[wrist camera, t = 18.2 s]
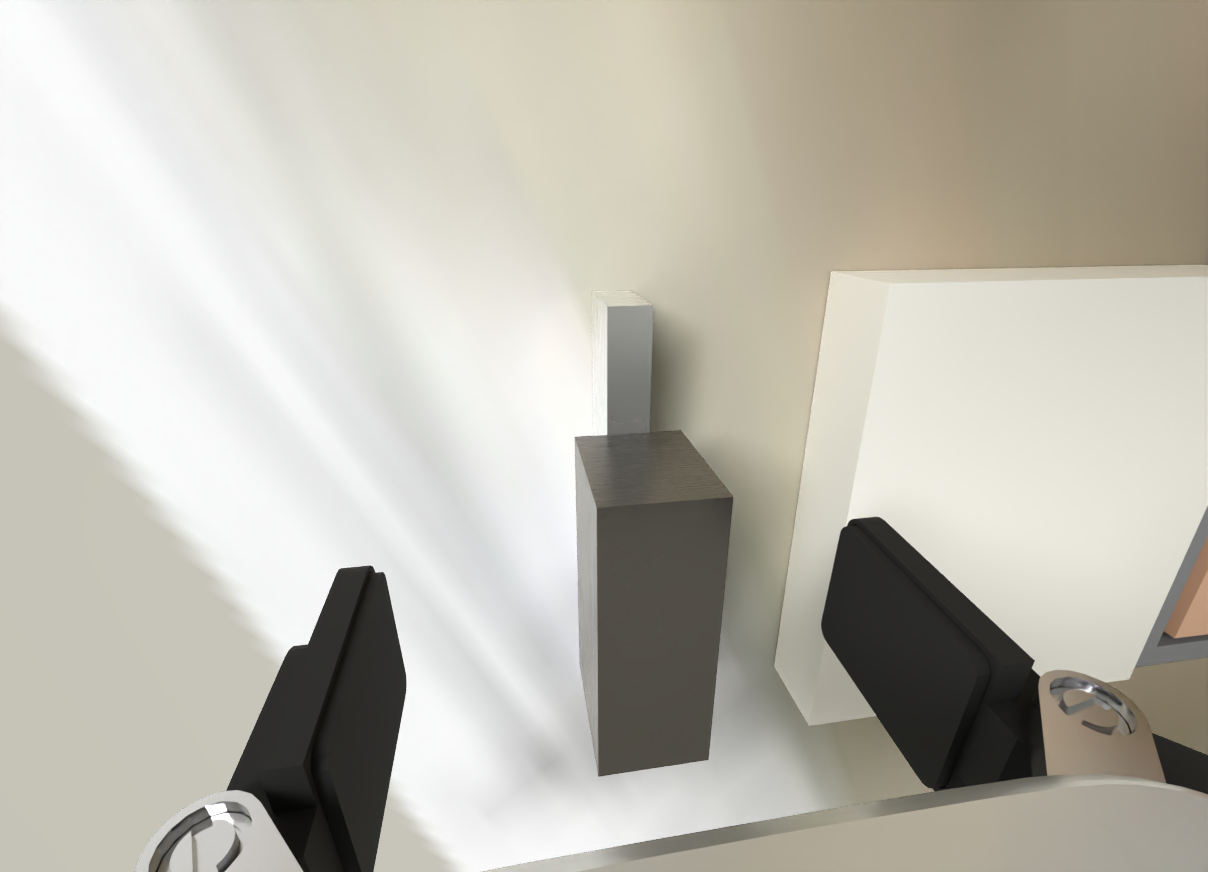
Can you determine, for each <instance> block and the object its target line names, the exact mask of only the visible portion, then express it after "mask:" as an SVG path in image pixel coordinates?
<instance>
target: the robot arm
mask: <svg viewBox="0 0 1208 872" xmlns="http://www.w3.org/2000/svg"><path fill="white" fill-rule="evenodd" d="M821 629H822V634H823V636H824V639H825V640H826V642H827V643H828V645H829V646H830V648H831V649H832V651H833V652H834V654H835V655H836V657H837V658H838V660H839V661H840V663H841V664H842V666H843V667H844V668H845V670H846V671H847V673H848V674H849V676H850V677H851V679H852V680H853V682H854V683H855V685H856V686H857V688H858V689H859V691H860V692H861V694H862V695H863V697H864V698H865V699H866V701H867V702H868V704H869V705H870V707H871V708H872V710H873V711H874V713H875V714H876V716H877V717H878V719H879V720H880V722H881V723H882V725H883V726H884V728H885V729H886V730H887V732H888V733H889V735H890V736H891V738H892V739H893V741H894V742H895V744H896V745H897V747H898V748H899V750H900V751H901V753H902V754H903V756H904V757H905V758H906V760H907V761H908V763H909V764H910V766H911V767H912V769H913V770H914V772H915V773H916V775H917V776H918V778H919V779H920V780H921V782H922V783H923V784H924V785H925V786H927V787H928V788H933V789H934V791H935V792H929V793H923V794H917V795H911V796H905V797H899V798H893V799H887V800H882V801H876V802H870V803H864V804H858V805H852V806H846V807H840V808H834V809H828V810H822V811H816V812H811V813H805V814H799V815H793V816H788V817H782V818H776V819H770V820H764V821H759V822H753V823H747V824H741V825H736V826H730V827H724V828H719V829H713V830H707V831H702V832H696V833H690V834H684V835H679V836H673V837H667V838H662V839H656V840H651V841H645V842H639V843H634V844H628V845H623V846H617V847H612V848H606V849H601V850H595V851H590V852H584V853H578V854H573V855H567V856H562V857H556V858H551V859H545V860H540V861H534V862H529V863H523V864H518V865H513V866H508V867H503V868H498V869H493V870H488V871H483V872H1208V755H1206V754H1203V753H1201V752H1198V751H1196V750H1193V749H1191V748H1188V747H1186V746H1183V745H1181V744H1178V743H1176V742H1173V741H1171V740H1168V739H1166V738H1163V737H1161V736H1158V735H1156V734H1153V733H1152V732H1151V729H1150V726H1149V723H1148V722H1147V720H1146V718H1145V716H1144V714H1143V713H1142V711H1141V710H1140V709H1139V708H1138V707H1137V706H1136V705H1135V704H1134V703H1133V702H1132V701H1131V700H1130V699H1129V698H1127V697H1126V696H1125V695H1124V694H1122V693H1121V692H1120V691H1118V690H1117V689H1115V688H1113V687H1112V686H1110V685H1108V684H1106V683H1105V682H1103V681H1101V680H1098V679H1096V678H1093V677H1091V676H1089V675H1086V674H1082V673H1078V672H1074V671H1070V670H1053V671H1049V672H1046V673H1045V674H1043V675H1042V676H1041V677H1040V676H1039V675H1038V674H1037V673H1036V672H1035V671H1034V670H1033V669H1032V666H1033V664H1034V662H1035V660H1034V659H1033V658H1031V657H1030V656H1029V655H1028V654H1027V653H1026V652H1025V651H1024V650H1023V649H1022V648H1021V647H1020V646H1019V645H1018V644H1016V643H1015V642H1014V641H1013V640H1012V639H1011V638H1010V637H1009V636H1008V635H1007V634H1006V633H1005V632H1004V631H1003V630H1001V629H1000V628H999V627H998V626H997V625H996V624H995V623H994V622H993V621H992V620H991V619H990V618H989V617H988V616H986V615H985V614H984V613H983V612H982V611H981V610H980V609H979V608H978V607H977V606H976V605H975V604H974V603H973V602H971V601H970V600H969V599H968V598H967V597H966V596H965V595H964V594H963V593H962V592H961V591H960V590H959V589H958V588H956V587H955V586H954V585H953V584H952V583H951V582H950V581H949V580H948V579H947V578H946V577H945V576H944V575H943V574H941V573H940V572H939V571H938V570H937V569H936V568H935V567H934V566H933V565H932V564H931V563H930V562H929V561H928V560H926V559H925V558H924V557H923V556H922V555H921V554H920V553H919V552H918V551H917V550H916V549H915V548H914V547H913V546H911V545H910V544H909V543H908V542H907V541H906V540H905V539H904V538H903V537H902V536H901V535H900V534H899V533H898V532H896V531H895V530H894V529H893V528H892V527H891V526H890V525H889V524H888V523H887V522H886V521H885V520H883V519H882V518H880V517H867V518H857V519H852V520H850V521H849V522H848V524H847V526H846V527H843V528H842V529H841V532H840V536H839V541H838V546H837V550H836V555H835V560H834V564H833V569H832V574H831V578H830V583H829V588H828V592H827V597H826V602H825V606H824V611H823V616H822V620H821ZM405 695H406V673H405V668H404V663H403V658H402V653H401V649H400V644H399V639H398V634H397V629H396V624H395V620H394V615H393V610H392V605H391V600H390V596H389V591H388V586H387V581H386V577H385V574H384V573H383V572H380V573H375V570H374V568H373V566H362V567H351V568H341V569H339V570H338V572H337V574H336V577H335V579H334V582H333V584H332V587H331V589H330V591H329V594H328V596H327V599H326V601H325V604H324V606H323V609H322V611H321V614H320V616H319V619H318V621H317V624H316V626H315V629H314V631H313V634H312V636H311V639H310V641H309V643H308V645H300V646H293V647H292V648H291V649H290V650H289V651H288V653H287V655H286V656H285V658H284V661H283V663H282V665H281V668H280V670H279V672H278V674H277V677H276V679H275V681H274V684H273V686H272V688H271V690H270V693H269V695H268V697H267V699H266V702H265V704H264V706H263V708H262V711H261V713H260V715H259V717H258V720H257V722H256V725H255V727H254V729H253V731H252V734H251V736H250V738H249V740H248V742H247V745H246V747H245V749H244V752H243V754H242V756H241V758H240V761H239V763H238V765H237V768H236V770H235V772H234V774H233V777H232V779H231V781H230V784H229V786H228V788H227V790H226V791H221V792H218V793H215V794H212V795H209V796H206V797H203V798H201V799H199V800H198V801H196V802H194V803H192V804H190V805H188V806H187V807H185V808H183V809H182V810H181V811H179V812H178V813H177V814H176V815H174V816H173V817H172V818H171V819H169V820H168V821H167V822H166V823H165V824H164V825H163V826H162V827H161V828H160V829H159V830H158V831H157V832H156V834H155V835H154V836H153V837H152V838H151V839H150V840H149V842H148V844H147V845H146V847H145V849H144V850H143V852H142V854H141V855H140V857H139V859H138V861H137V865H136V868H135V871H134V872H373V870H374V865H375V859H376V854H377V848H378V843H379V838H380V832H381V827H382V821H383V816H384V810H385V805H386V799H387V794H388V788H389V783H390V777H391V772H392V766H393V761H394V755H395V750H396V744H397V739H398V733H399V728H400V722H401V717H402V711H403V706H404V700H405Z"/></svg>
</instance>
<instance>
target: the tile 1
mask: <svg viewBox="0 0 1208 872" xmlns="http://www.w3.org/2000/svg"><path fill="white" fill-rule="evenodd" d="M1164 632H1165V633H1167V634H1169V635H1170V636H1172V637H1173V638H1182V637H1190V636H1198V635H1205V634H1208V536H1207V538H1206V541H1205V543H1204V545H1203V547H1202V549H1201V551H1200V554H1199V556H1198V558H1197V560H1196V562H1195V564H1194V567H1193V569H1192V571H1191V573H1190V575H1189V577H1188V580H1187V582H1186V584H1185V586H1184V588H1183V590H1182V593H1181V595H1180V597H1179V599H1178V601H1177V603H1176V606H1175V608H1174V610H1173V612H1172V614H1171V616H1170V619H1169V621H1168V623H1167V625H1166V627H1165V629H1164Z"/></svg>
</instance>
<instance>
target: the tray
mask: <svg viewBox="0 0 1208 872" xmlns="http://www.w3.org/2000/svg"><path fill="white" fill-rule="evenodd" d="M1207 536H1208V506H1207V508H1206V510H1205V513H1204V515H1203V517H1202V519H1201V522H1200V524H1199V526H1198V528H1197V530H1196V533H1195V535H1194V537H1193V539H1192V541H1191V544H1190V546H1189V548H1188V550H1187V553H1186V555H1185V557H1184V559H1183V561H1182V564H1181V566H1180V568H1179V570H1178V572H1177V575H1176V577H1175V579H1174V581H1173V584H1172V586H1171V588H1170V590H1169V592H1168V595H1167V597H1166V599H1165V601H1164V603H1163V606H1162V608H1161V610H1160V612H1159V615H1158V617H1157V619H1156V621H1155V623H1154V626H1153V628H1152V630H1151V632H1150V634H1149V637H1148V639H1147V641H1146V643H1145V646H1144V648H1143V650H1142V652H1141V654H1140V657H1139V659H1138V661H1137V663H1136V665H1135V668H1136V667H1143V666H1150V665H1157V664H1164V663H1171V662H1178V661H1185V660H1192V659H1199V658H1206V657H1208V634H1205V635H1198V636H1190V637H1182V638H1173V637H1172V636H1170V635H1169V634H1167V633H1165V632H1164V629H1165V627H1166V625H1167V623H1168V621H1169V619H1170V616H1171V614H1172V612H1173V610H1174V608H1175V606H1176V603H1177V601H1178V599H1179V597H1180V595H1181V593H1182V590H1183V588H1184V586H1185V584H1186V582H1187V580H1188V577H1189V575H1190V573H1191V571H1192V569H1193V567H1194V564H1195V562H1196V560H1197V558H1198V556H1199V554H1200V551H1201V549H1202V547H1203V545H1204V543H1205V541H1206V538H1207Z"/></svg>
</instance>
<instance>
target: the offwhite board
mask: <svg viewBox="0 0 1208 872" xmlns="http://www.w3.org/2000/svg"><path fill="white" fill-rule="evenodd" d="M1207 506H1208V265H1152V266H1098V267H1045V268H991V269H938V270H884V271H831V276H830V283H829V290H828V297H827V304H826V311H825V318H824V324H823V331H822V338H821V345H820V352H819V359H818V366H817V373H816V380H815V387H814V394H813V400H812V407H811V414H810V421H809V428H808V435H807V442H806V449H805V456H804V463H803V469H802V476H801V483H800V490H799V497H798V504H797V511H796V518H795V525H794V532H793V539H792V545H791V552H790V559H789V566H788V573H787V580H786V587H785V594H784V601H783V608H782V614H781V621H780V628H779V635H778V642H777V649H776V656H775V663H774V667H775V669H776V671H777V672H778V674H779V676H780V677H781V679H782V681H783V683H784V684H785V686H786V688H787V689H788V691H789V693H790V694H791V696H792V698H793V700H794V701H795V703H796V705H797V706H798V708H799V710H800V712H801V713H802V715H803V717H804V718H805V720H806V722H807V724H808V725H809V726H813V725H820V724H827V723H834V722H840V721H847V720H854V719H861V718H868V717H875V716H876V714H875V713H874V711H873V710H872V708H871V707H870V705H869V704H868V702H867V701H866V699H865V698H864V697H863V695H862V694H861V692H860V691H859V689H858V688H857V686H856V685H855V683H854V682H853V680H852V679H851V677H850V676H849V674H848V673H847V671H846V670H845V668H844V667H843V666H842V664H841V663H840V661H839V660H838V658H837V657H836V655H835V654H834V652H833V651H832V649H831V648H830V646H829V645H828V643H827V642H826V640H825V639H824V636H823V634H822V629H821V620H822V616H823V611H824V606H825V602H826V597H827V592H828V588H829V583H830V578H831V574H832V569H833V564H834V560H835V555H836V550H837V546H838V541H839V536H840V532H841V529H842V528H843V527H846V526H847V524H848V522H849V521H850V520H852V519H857V518H867V517H880V518H882V519H883V520H885V521H886V522H887V523H888V524H889V525H890V526H891V527H892V528H893V529H894V530H895V531H896V532H898V533H899V534H900V535H901V536H902V537H903V538H904V539H905V540H906V541H907V542H908V543H909V544H910V545H911V546H913V547H914V548H915V549H916V550H917V551H918V552H919V553H920V554H921V555H922V556H923V557H924V558H925V559H926V560H928V561H929V562H930V563H931V564H932V565H933V566H934V567H935V568H936V569H937V570H938V571H939V572H940V573H941V574H943V575H944V576H945V577H946V578H947V579H948V580H949V581H950V582H951V583H952V584H953V585H954V586H955V587H956V588H958V589H959V590H960V591H961V592H962V593H963V594H964V595H965V596H966V597H967V598H968V599H969V600H970V601H971V602H973V603H974V604H975V605H976V606H977V607H978V608H979V609H980V610H981V611H982V612H983V613H984V614H985V615H986V616H988V617H989V618H990V619H991V620H992V621H993V622H994V623H995V624H996V625H997V626H998V627H999V628H1000V629H1001V630H1003V631H1004V632H1005V633H1006V634H1007V635H1008V636H1009V637H1010V638H1011V639H1012V640H1013V641H1014V642H1015V643H1016V644H1018V645H1019V646H1020V647H1021V648H1022V649H1023V650H1024V651H1025V652H1026V653H1027V654H1028V655H1029V656H1030V657H1031V658H1033V659H1034V660H1035V662H1034V664H1033V666H1032V669H1033V670H1034V671H1035V672H1036V673H1037V674H1038V675H1039V676H1040V677H1041V676H1042V675H1043V674H1045V673H1046V672H1049V671H1053V670H1070V671H1074V672H1078V673H1082V674H1086V675H1089V676H1091V677H1093V678H1096V679H1098V680H1101V681H1103V682H1105V683H1107V682H1114V681H1121V680H1128V679H1130V677H1131V674H1132V672H1133V670H1134V668H1135V665H1136V663H1137V661H1138V659H1139V657H1140V654H1141V652H1142V650H1143V648H1144V646H1145V643H1146V641H1147V639H1148V637H1149V634H1150V632H1151V630H1152V628H1153V626H1154V623H1155V621H1156V619H1157V617H1158V615H1159V612H1160V610H1161V608H1162V606H1163V603H1164V601H1165V599H1166V597H1167V595H1168V592H1169V590H1170V588H1171V586H1172V584H1173V581H1174V579H1175V577H1176V575H1177V572H1178V570H1179V568H1180V566H1181V564H1182V561H1183V559H1184V557H1185V555H1186V553H1187V550H1188V548H1189V546H1190V544H1191V541H1192V539H1193V537H1194V535H1195V533H1196V530H1197V528H1198V526H1199V524H1200V522H1201V519H1202V517H1203V515H1204V513H1205V510H1206V508H1207Z"/></svg>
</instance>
